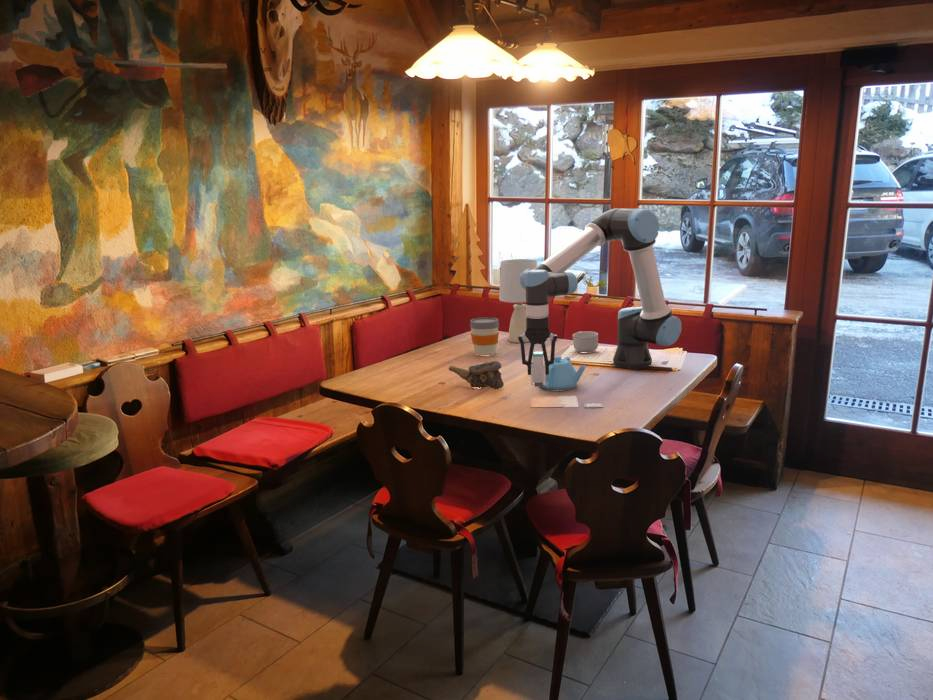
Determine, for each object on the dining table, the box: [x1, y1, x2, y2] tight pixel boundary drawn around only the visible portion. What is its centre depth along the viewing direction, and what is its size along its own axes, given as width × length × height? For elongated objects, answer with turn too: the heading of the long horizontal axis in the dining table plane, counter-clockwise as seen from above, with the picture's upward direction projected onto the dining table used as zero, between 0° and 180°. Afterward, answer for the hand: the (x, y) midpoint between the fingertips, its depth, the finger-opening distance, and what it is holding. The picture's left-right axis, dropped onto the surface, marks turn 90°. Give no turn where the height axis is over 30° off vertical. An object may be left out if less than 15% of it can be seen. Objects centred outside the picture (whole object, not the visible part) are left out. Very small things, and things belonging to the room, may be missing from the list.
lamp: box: [498, 258, 538, 344], centre depth 350 cm, size 19×19×37 cm
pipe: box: [448, 360, 504, 390], centre depth 280 cm, size 9×22×10 cm, turn 73°
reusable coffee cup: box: [469, 317, 500, 356], centre depth 329 cm, size 13×13×15 cm
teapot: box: [531, 355, 587, 392], centre depth 277 cm, size 15×17×11 cm
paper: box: [558, 395, 579, 408], centre depth 259 cm, size 16×12×1 cm
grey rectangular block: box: [532, 351, 544, 388], centre depth 259 cm, size 4×4×12 cm
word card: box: [583, 402, 604, 409], centre depth 253 cm, size 6×4×1 cm, turn 86°
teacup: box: [572, 330, 599, 353], centre depth 328 cm, size 14×11×8 cm
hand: (538, 383), depth 260 cm, fingers closed on grey rectangular block, 3 cm apart
